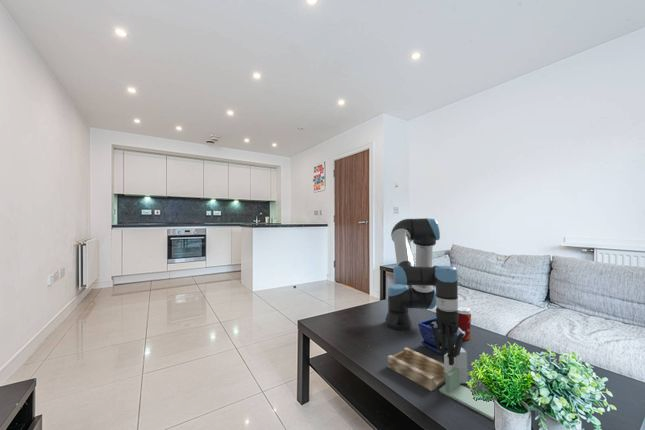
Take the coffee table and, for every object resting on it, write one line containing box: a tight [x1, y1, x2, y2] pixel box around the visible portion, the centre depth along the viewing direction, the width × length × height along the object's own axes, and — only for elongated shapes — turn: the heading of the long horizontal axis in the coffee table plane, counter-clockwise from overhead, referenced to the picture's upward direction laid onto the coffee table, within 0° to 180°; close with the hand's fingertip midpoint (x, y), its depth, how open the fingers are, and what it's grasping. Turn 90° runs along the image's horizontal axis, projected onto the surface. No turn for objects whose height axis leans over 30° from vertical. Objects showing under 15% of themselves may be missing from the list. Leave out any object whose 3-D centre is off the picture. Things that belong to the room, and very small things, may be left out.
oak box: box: [387, 347, 446, 392], centre depth 108 cm, size 20×13×4 cm, turn 37°
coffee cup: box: [457, 306, 473, 341], centre depth 139 cm, size 8×8×15 cm
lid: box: [438, 368, 495, 421], centre depth 92 cm, size 18×8×7 cm, turn 37°
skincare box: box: [452, 344, 469, 385], centre depth 103 cm, size 6×4×12 cm
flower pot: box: [417, 317, 458, 355], centre depth 128 cm, size 13×13×12 cm
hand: (448, 372), depth 98 cm, fingers closed
